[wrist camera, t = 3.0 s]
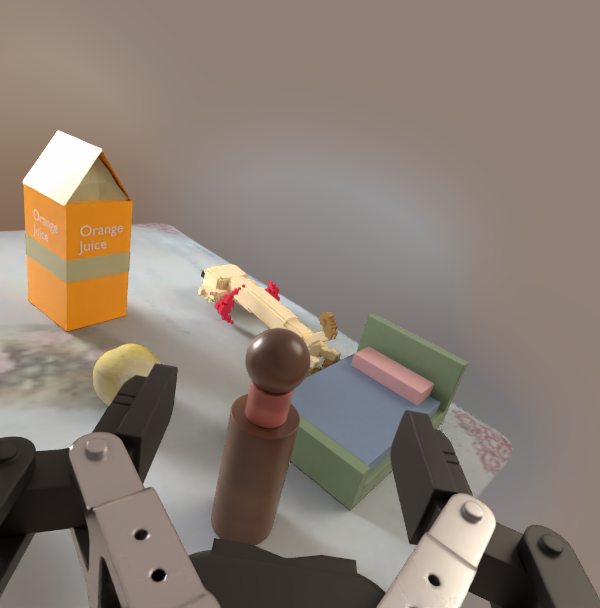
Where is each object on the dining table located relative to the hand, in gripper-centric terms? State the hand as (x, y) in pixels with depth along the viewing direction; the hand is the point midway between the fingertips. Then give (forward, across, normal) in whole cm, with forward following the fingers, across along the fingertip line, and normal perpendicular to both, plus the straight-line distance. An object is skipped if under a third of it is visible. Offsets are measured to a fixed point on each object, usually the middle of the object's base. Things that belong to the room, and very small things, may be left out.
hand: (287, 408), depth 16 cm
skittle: (+11, 0, +19) cm, 22 cm away
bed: (+25, -10, +19) cm, 33 cm away
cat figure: (+41, +2, +19) cm, 46 cm away
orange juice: (+37, +24, +19) cm, 48 cm away
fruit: (+23, +14, +19) cm, 33 cm away
